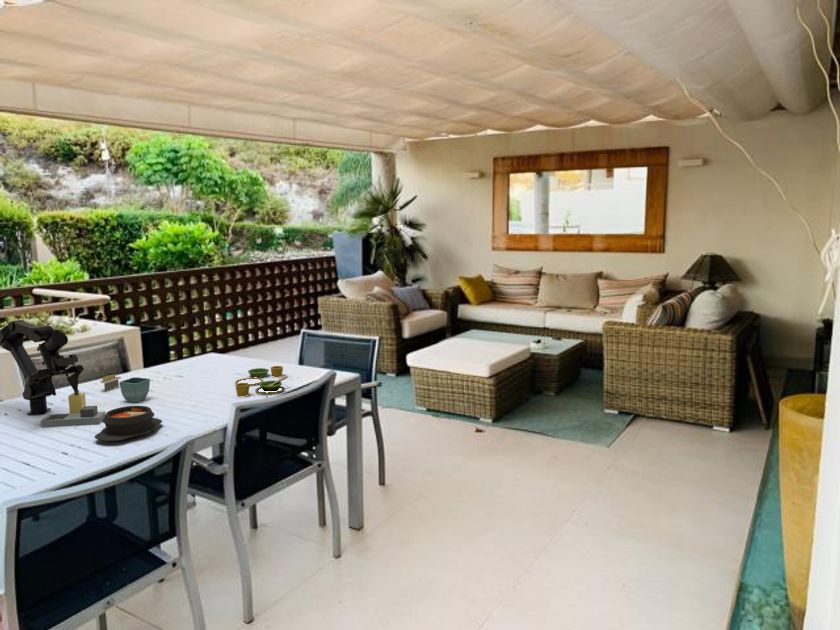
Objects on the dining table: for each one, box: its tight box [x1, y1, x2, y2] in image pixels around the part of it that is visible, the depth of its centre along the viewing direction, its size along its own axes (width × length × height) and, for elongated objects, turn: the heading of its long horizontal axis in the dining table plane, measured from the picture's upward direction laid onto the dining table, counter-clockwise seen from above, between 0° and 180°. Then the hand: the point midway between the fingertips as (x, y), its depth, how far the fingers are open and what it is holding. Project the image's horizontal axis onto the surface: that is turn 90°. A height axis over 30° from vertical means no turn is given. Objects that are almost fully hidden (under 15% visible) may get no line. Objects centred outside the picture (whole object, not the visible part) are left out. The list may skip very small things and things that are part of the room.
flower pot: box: [118, 376, 151, 403], centre depth 263 cm, size 9×9×9 cm
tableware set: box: [234, 365, 289, 398], centre depth 289 cm, size 41×28×6 cm
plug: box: [67, 389, 87, 413], centre depth 245 cm, size 5×5×10 cm
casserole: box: [94, 405, 163, 442], centre depth 223 cm, size 25×19×8 cm
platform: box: [99, 374, 122, 392], centre depth 281 cm, size 12×18×7 cm, turn 162°
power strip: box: [40, 405, 106, 428], centre depth 235 cm, size 8×20×6 cm, turn 101°
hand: (66, 393), depth 236 cm, fingers open, 9 cm apart
